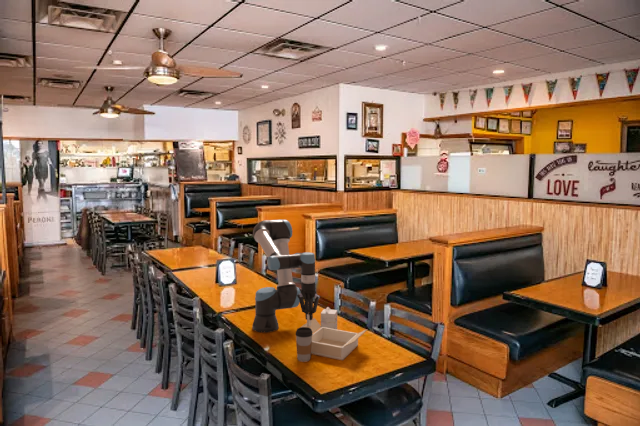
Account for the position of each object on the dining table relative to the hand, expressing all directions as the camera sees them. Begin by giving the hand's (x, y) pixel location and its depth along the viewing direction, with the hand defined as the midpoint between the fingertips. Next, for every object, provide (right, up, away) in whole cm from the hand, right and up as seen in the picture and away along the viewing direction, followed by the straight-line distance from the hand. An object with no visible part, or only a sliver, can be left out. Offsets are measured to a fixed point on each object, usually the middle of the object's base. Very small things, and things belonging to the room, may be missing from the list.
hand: (309, 325), depth 242 cm
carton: (+12, -11, -5) cm, 17 cm away
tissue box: (+11, -9, +21) cm, 25 cm away
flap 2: (+24, -3, -11) cm, 27 cm away
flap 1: (0, -1, 0) cm, 1 cm away
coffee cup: (-2, -12, -18) cm, 22 cm away
